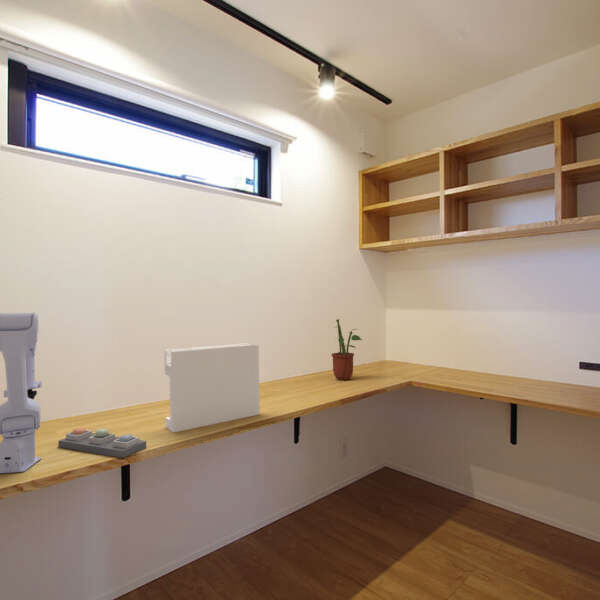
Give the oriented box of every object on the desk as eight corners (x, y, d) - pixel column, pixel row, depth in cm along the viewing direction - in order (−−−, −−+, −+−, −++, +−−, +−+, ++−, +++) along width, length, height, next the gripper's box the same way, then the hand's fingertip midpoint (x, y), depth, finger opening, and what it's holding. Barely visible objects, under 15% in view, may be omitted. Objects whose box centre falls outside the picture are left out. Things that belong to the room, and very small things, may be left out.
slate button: (135, 440, 121) (135, 435, 121) (126, 443, 117) (126, 438, 118) (126, 438, 122) (126, 433, 122) (117, 442, 119) (116, 437, 119)
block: (173, 432, 137) (172, 351, 138) (165, 427, 144) (164, 349, 144) (259, 414, 159) (258, 344, 159) (249, 410, 165) (248, 343, 165)
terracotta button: (88, 433, 128) (88, 428, 128) (78, 436, 125) (78, 431, 125) (80, 432, 130) (80, 427, 130) (70, 435, 126) (70, 430, 126)
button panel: (146, 447, 123) (146, 435, 123) (123, 458, 114) (123, 445, 114) (83, 438, 133) (83, 427, 133) (58, 447, 125) (58, 435, 125)
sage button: (110, 433, 125) (110, 429, 125) (101, 437, 121) (101, 432, 121) (102, 432, 126) (102, 428, 126) (92, 436, 123) (92, 431, 123)
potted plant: (334, 381, 223) (332, 319, 224) (329, 377, 239) (328, 319, 239) (364, 380, 225) (363, 319, 225) (358, 376, 240) (356, 318, 241)
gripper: (20, 375, 117) (20, 421, 116) (50, 367, 131) (51, 408, 131) (-4, 376, 116) (-4, 422, 116) (29, 368, 131) (29, 409, 131)
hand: (23, 415), depth 124 cm, fingers closed
